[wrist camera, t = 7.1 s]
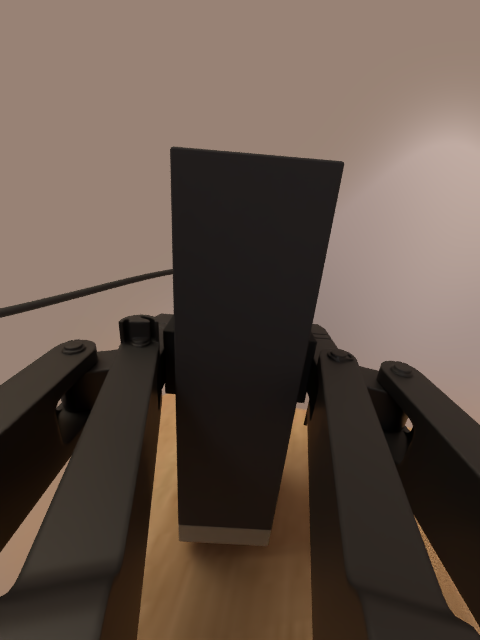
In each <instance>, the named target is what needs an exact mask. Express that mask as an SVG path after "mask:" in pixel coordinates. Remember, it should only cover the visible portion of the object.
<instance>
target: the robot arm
mask: <svg viewBox="0 0 480 640" xmlns="http://www.w3.org/2000/svg"><path fill="white" fill-rule="evenodd" d="M171 274H173V269H170V270H165V271H159V272H154V273H149V274H144V275H140V276H135V277H131V278H126V279H123V280H118V281H114V282H110V283H105V284H102V285H98V286H94V287H90V288H86V289H82V290H78V291H74V292H70V293H66V294H61V295H57V296H53V297H49V298H44V299H41V300H36V301H32V302H27V303H23V304H19V305H14V306H10V307H5V308H0V317H5V316H9V315H13V314H17V313H22V312H25V311H30V310H34V309H38V308H41V307H45V306H49V305H53V304H57V303H60V302H64V301H68V300H71V299H75V298H79V297H83V296H86V295H90V294H94V293H97V292H101V291H104V290H108V289H112V288H116V287H119V286H123V285H127V284H130V283H134V282H139V281H143V280H146V279H151V278H155V277H160V276H165V275H171ZM119 330H120V339H121V345H120V346H119V349H118V350H111V351H100V352H97V350H96V344H95V343H94V342H92V341H88V340H74V341H73V340H71V341H68V342H65V343H62V344H60V345H58V346H56V347H54V348H53V349H51V350H50V351H49V352H47V353H46V354H44V355H43V356H42V357H40V358H39V359H37V360H36V361H34V362H33V363H32V364H30V365H29V366H27V367H26V368H24V369H23V370H22V371H20V372H19V373H17V374H16V375H14V376H13V377H12V378H10V379H9V380H7V381H6V382H4V383H3V384H2V385H0V552H1V551H2V549H3V548H4V547H5V545H6V544H7V543H8V541H9V540H10V538H11V537H12V536H13V534H14V533H15V532H16V530H17V529H18V528H19V526H20V525H21V524H22V522H23V521H24V519H25V518H26V517H27V515H28V514H29V513H30V511H31V510H32V509H33V507H34V506H35V504H36V503H37V502H38V500H39V499H40V498H41V496H42V494H44V492H45V491H46V489H47V488H48V487H49V485H50V484H51V483H52V481H53V480H54V479H55V477H56V476H57V474H58V473H59V472H60V470H61V469H62V468H63V466H64V465H65V464H66V462H67V461H68V460H69V458H70V457H71V458H70V461H69V463H68V465H67V467H66V469H65V472H64V474H63V477H62V479H61V481H60V483H59V485H58V488H57V490H56V492H55V495H54V497H53V499H52V501H51V504H50V506H49V508H48V511H47V513H46V515H45V517H44V520H43V522H42V524H41V526H40V529H39V531H38V534H37V536H36V538H35V540H34V543H33V545H32V547H31V549H30V552H29V554H28V556H27V558H26V561H25V563H24V565H23V568H22V570H21V572H20V574H19V576H18V578H17V580H16V582H15V584H14V585H13V586H12V588H11V589H10V590H9V592H8V593H6V594H5V595H3V596H1V597H0V640H137V632H138V623H139V613H140V604H141V595H142V585H143V576H144V566H145V557H146V547H147V538H148V529H149V519H150V510H151V500H152V491H153V481H154V472H155V463H156V453H157V444H158V434H159V425H160V416H161V406H162V388H163V386H164V384H165V393H167V394H176V389H175V344H174V314H173V315H172V314H160V315H158V316H156V317H153V316H149V315H133V316H128V317H125V318H123V319H121V320H120V321H119ZM306 392H307V393H308V396H309V403H308V408H307V412H306V417H305V421H304V425H306V426H308V466H309V507H310V547H311V587H312V628H313V640H480V635H479V634H478V633H477V631H476V630H475V629H474V627H473V626H471V625H469V624H468V623H466V622H464V621H463V620H461V619H459V618H458V617H456V616H455V615H454V614H453V613H452V611H451V610H450V609H449V607H448V605H447V603H446V601H445V599H444V596H443V594H442V591H441V588H440V586H439V583H438V580H437V578H436V575H435V572H434V569H433V567H432V564H431V561H430V558H429V556H428V553H427V550H426V548H425V545H424V542H423V539H422V537H421V534H420V531H419V528H418V526H417V523H416V520H415V518H416V519H417V521H418V523H419V524H420V526H421V528H422V530H423V531H424V533H425V535H426V536H427V538H428V540H429V541H430V543H431V545H432V547H433V548H434V550H435V552H436V553H437V555H438V557H439V558H440V560H441V562H442V564H443V565H444V567H445V569H446V570H447V572H448V574H449V576H450V577H451V579H452V581H453V582H454V584H455V586H456V587H457V589H458V591H459V593H460V594H461V596H462V598H463V599H464V601H465V603H466V604H467V606H468V608H469V610H470V611H471V613H472V615H473V616H474V618H475V620H476V621H477V623H478V625H479V627H480V425H479V424H478V423H477V422H476V421H475V420H473V419H472V418H471V417H470V416H469V415H468V414H467V413H466V412H465V411H463V410H462V409H461V408H460V407H459V406H458V405H457V404H455V403H454V402H453V401H452V400H451V399H450V398H449V397H448V396H446V395H445V394H444V393H443V392H442V391H441V390H440V389H439V388H437V387H436V386H435V385H434V384H433V383H432V382H431V381H430V380H428V379H427V378H426V377H425V376H424V375H423V374H422V373H420V372H419V371H418V370H416V369H415V368H413V367H411V366H409V365H408V364H406V363H402V362H398V361H397V362H395V361H385V362H383V363H381V367H380V369H379V371H377V370H372V369H369V368H364V367H361V366H359V365H358V362H357V360H356V358H355V357H354V356H353V355H352V354H350V353H349V352H346V351H344V350H341V349H338V348H337V346H336V345H335V343H334V342H333V341H332V340H331V337H330V336H329V335H328V333H327V332H326V330H325V329H324V328H322V327H321V326H319V325H318V324H312V328H311V333H310V338H309V343H308V348H307V353H306V358H305V363H304V368H303V373H302V378H301V383H300V388H299V393H298V398H297V402H299V403H304V402H305V397H306ZM60 398H61V401H62V403H61V404H60V405H59V406H58V407H57V403H58V401H59V400H60ZM56 407H57V408H56ZM408 418H409V419H410V420H411V422H412V425H413V428H412V430H411V431H409V430H408V429H407V427H406V426H405V423H406V421H407V419H408ZM71 455H72V456H71ZM413 514H414V515H413ZM414 516H415V518H414Z"/></svg>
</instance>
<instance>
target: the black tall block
mask: <svg viewBox="0 0 480 640" xmlns="http://www.w3.org/2000/svg"><path fill="white" fill-rule="evenodd" d="M170 159H171V205H172V249H173V250H172V253H173V296H174V344H175V389H176V434H177V480H178V523H179V541H183V542H200V543H218V544H236V545H253V546H268V543H269V538H270V533H271V529H272V524H273V519H274V514H275V509H276V504H277V499H278V494H279V489H280V484H281V479H282V474H283V469H284V464H285V459H286V454H287V449H288V444H289V439H290V434H291V429H292V424H293V419H294V414H295V409H296V404H297V398H298V393H299V388H300V383H301V378H302V373H303V368H304V363H305V358H306V353H307V348H308V343H309V338H310V333H311V328H312V323H313V318H314V313H315V308H316V303H317V298H318V293H319V288H320V283H321V278H322V273H323V268H324V263H325V258H326V253H327V248H328V242H329V238H330V233H331V228H332V223H333V217H334V213H335V207H336V202H337V198H338V193H339V188H340V183H341V178H342V172H343V167H344V162H342V161H332V160H320V159H309V158H297V157H286V156H285V157H284V156H274V155H263V154H251V153H240V152H229V151H217V150H205V149H194V148H183V147H171V149H170Z"/></svg>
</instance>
